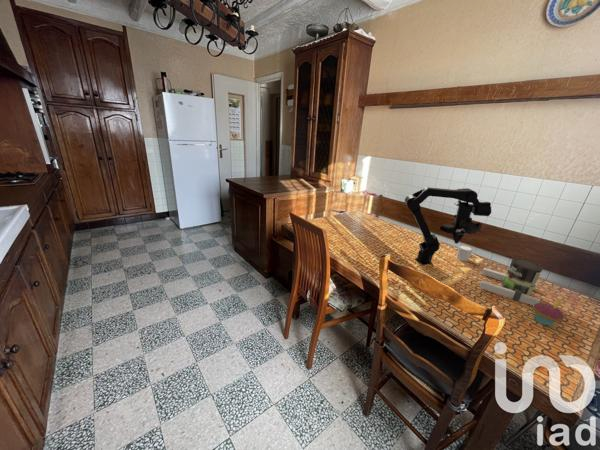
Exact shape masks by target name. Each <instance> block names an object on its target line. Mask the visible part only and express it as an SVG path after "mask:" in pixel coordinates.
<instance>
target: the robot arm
mask: <svg viewBox="0 0 600 450" xmlns="http://www.w3.org/2000/svg"><path fill="white" fill-rule="evenodd" d="M429 197H436V198H446V199H447V198H448V199H455V200H457V201H455V202H454V203H453V204H454V205H456V206H457V211H456V214H454V215H453V217H454V218H455V219H454V222H452V223H451V224H452V225H451V224H449V223H447V224H446V223H445V224H444V223H443V224H441V225H440V228H439V230H440V231H442V232H444V233H446V234H452V239H453V241H454V244H459V243H460V241H461V240H462V238H463V237H464V236H465V235H467V234H468V235H471V234H477V233H478V232H480V231H481V229H482V225H483V224H482V223H481V222H472V221H473V219H472V218H473V217H471V215H473V216H478V217H479V216H480V217H490V215H491V214H492V206H491V205H492V204H491V203H492V202H489V201H479V199H478V193H477V191H476V190H475V191H474V190H473V189H471V188H468V187H467V188H458V189H451V188H450V189H449V188H438V187H429V186H424V187H423V188H422V189H419V190H418V191H416V192H414V193H412V194H409V195H407V196H406V197H405V199H404V204H406V207H407V208H408V209H409V210H410V212H411V213H412V214H413V217H414V219H415V221H416V223H417V225H418V227H419V230H420V232H421V233H422V238H423V241H422V242H421V243H419V245H418V247H419V248H420V249H419V250H418V254H417V257H415V258H414V260H415V261H417V262H418V263H419V264H420V265H422V266H425V265H433V262H432V261H433V260H432V259H433V256H434V255H435V253H436V252H438V251H439V249H440V248H441V247H440V246H441V243H440V241H439V239H438V237H437V236H436V234H435V233H431V230H430V229H429V226H428V224H427V222H426V219H425V218H424V216H423V213H422V210H421V209H422V208H421V204H422V203H423V202H424V201H425V200H427V198H429Z"/></svg>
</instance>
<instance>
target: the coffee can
mask: <svg viewBox="0 0 600 450" xmlns="http://www.w3.org/2000/svg"><path fill="white" fill-rule="evenodd" d="M543 270H544V269H543V267H542V266H541V265H540V264H538V263H536V262H534V261H531V260H527V259H525V258H518V257H517V258H512V259H511V261H510V263H509V267H508V270H507V272H506V273H505V274H506V277H505V279H504V281H502V283H501V287H504V288H507V289H510V290H513V291H515V289H518V290H521V291H522V293H523V294H526V295H529V296H532V295H531V294H532V292H533V291H534V290H533V288H534V286H535V284H536V283H537V281H538V280H539V277H540V275H541V273H542V271H543Z"/></svg>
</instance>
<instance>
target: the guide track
mask: <svg viewBox="0 0 600 450" xmlns="http://www.w3.org/2000/svg"><path fill="white" fill-rule="evenodd" d="M506 274H507V273H503V272H500V271H497V270H492V269H489V268H486V267H483V270H482V272H481V275H483V276H486V277H489V278H493V279H495V280H497V281H498V280H499V281H502V282H504V279H505V277H506ZM501 286H502V285H501ZM501 286H500V285H498V284H494V283H491V282H488V281H485V280H481V281H480V283H479V287H478V288H479V289H481V290H485V291H488V292H491V293H493V294H497V295H500V296H502V297H506V298H509V299H511V300H514V301H517V302H521V303H524V304H526V303H527V304H526V305H529V304H530V306H532V305H535V304H536V303H541V299H540V298H539V297H535V296H532V295H530V296H529V295H526V294H523V293H522V291H521V290H518V289H515V291H513V290H510V289H507V288H504V287H501ZM537 286H538V284H537V282H536V284H535V286H534V288H533V290H532V291H536V288H537Z"/></svg>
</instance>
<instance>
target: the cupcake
mask: <svg viewBox="0 0 600 450" xmlns="http://www.w3.org/2000/svg"><path fill="white" fill-rule="evenodd" d="M564 298H565V297H564V296H563V297H561V298H559V300H558V301H557V302H556V303H555V305H552V304H550V303H546V302H545V303H544V302H540V303H536V304H535V305H534V306H532V307H531V310H532V312H534V318H535V321H536V320H537V321H536V322H537V323H539V322H540V323H539V324H541V323H542V324H541V325H543V324H544V325H543V326H546V325H548V326H547V327H551V326H553V325H555V324H556V323H559V322H563V321H564V319H565V314H564V312H563V311H562V310H560V308H558V306H559V305H560V304H561V302H562V301H563V300H564Z"/></svg>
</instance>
